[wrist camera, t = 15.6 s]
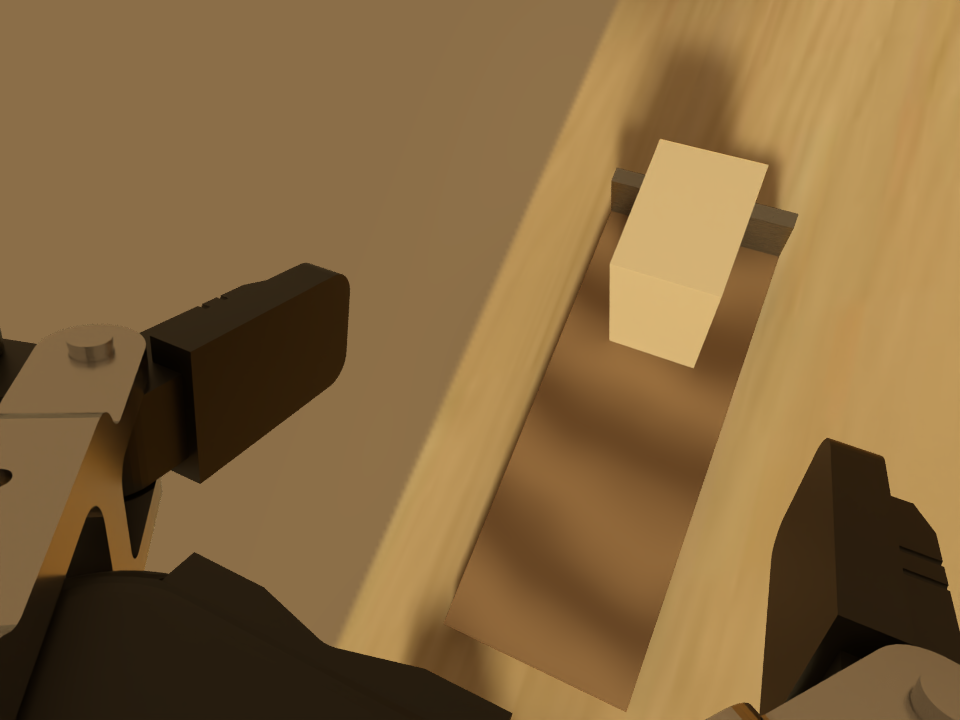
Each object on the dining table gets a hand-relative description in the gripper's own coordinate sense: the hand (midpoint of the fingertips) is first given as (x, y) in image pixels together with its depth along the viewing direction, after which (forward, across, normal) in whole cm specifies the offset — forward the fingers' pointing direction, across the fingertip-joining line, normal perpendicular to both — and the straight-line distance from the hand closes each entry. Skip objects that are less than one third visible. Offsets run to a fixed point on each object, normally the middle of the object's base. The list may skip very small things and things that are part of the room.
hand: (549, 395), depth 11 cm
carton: (+25, 0, +8) cm, 26 cm away
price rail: (+28, 0, +4) cm, 28 cm away
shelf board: (+21, 0, +14) cm, 25 cm away
